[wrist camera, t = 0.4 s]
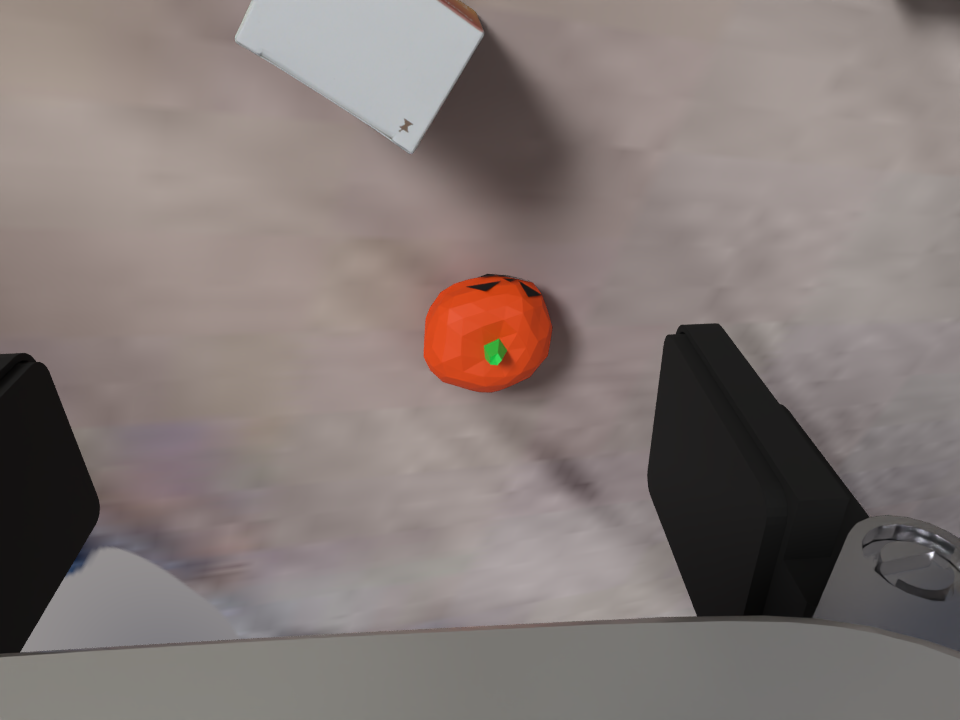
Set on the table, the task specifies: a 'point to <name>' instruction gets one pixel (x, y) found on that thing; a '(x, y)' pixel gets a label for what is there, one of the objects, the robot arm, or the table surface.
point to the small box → (369, 55)
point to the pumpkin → (487, 333)
